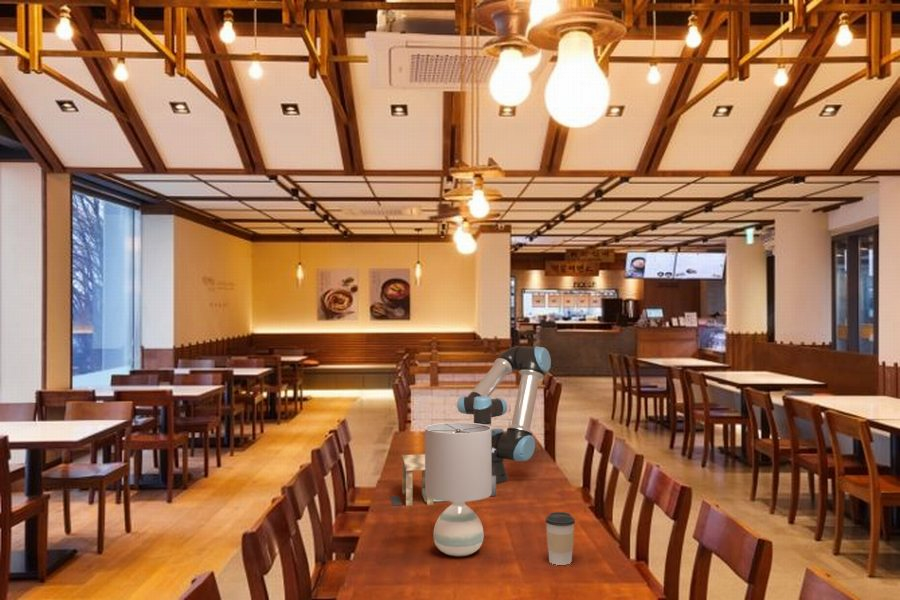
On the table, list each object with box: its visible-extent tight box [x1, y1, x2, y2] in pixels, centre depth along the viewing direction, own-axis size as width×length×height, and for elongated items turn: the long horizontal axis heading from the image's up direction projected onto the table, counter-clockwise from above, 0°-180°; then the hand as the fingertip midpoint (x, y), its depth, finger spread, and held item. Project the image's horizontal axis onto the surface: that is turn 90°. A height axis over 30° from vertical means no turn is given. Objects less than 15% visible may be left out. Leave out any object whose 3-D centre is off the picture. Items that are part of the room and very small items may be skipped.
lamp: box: [424, 422, 492, 557], centre depth 237 cm, size 22×22×40 cm
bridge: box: [401, 453, 434, 507], centre depth 304 cm, size 11×24×16 cm, turn 8°
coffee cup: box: [545, 511, 576, 566], centre depth 227 cm, size 9×9×15 cm
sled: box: [421, 475, 497, 503], centre depth 307 cm, size 31×13×8 cm, turn 98°
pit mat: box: [389, 495, 403, 506], centre depth 301 cm, size 4×14×1 cm, turn 8°
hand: (482, 489), depth 308 cm, fingers closed
